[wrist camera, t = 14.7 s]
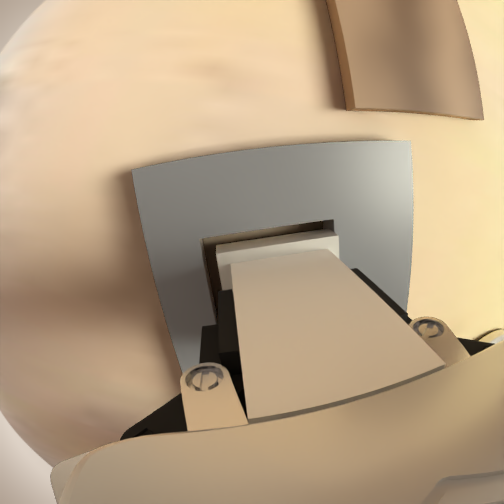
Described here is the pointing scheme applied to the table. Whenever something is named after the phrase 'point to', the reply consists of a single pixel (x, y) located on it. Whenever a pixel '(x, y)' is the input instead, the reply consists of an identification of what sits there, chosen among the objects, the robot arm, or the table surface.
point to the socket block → (274, 217)
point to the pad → (406, 57)
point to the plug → (313, 328)
